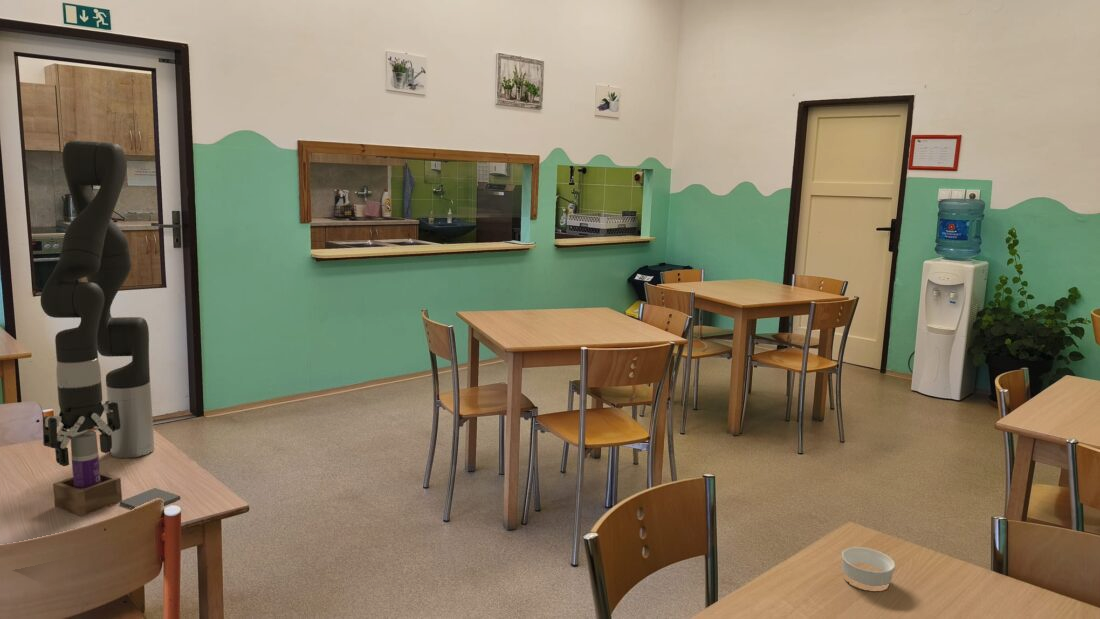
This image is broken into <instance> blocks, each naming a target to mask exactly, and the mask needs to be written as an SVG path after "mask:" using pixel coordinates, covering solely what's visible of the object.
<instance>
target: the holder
mask: <svg viewBox="0 0 1100 619" xmlns="http://www.w3.org/2000/svg"><path fill="white" fill-rule="evenodd" d="M100 481H101V483H99V484H96V485H93V486H90V487H88V488H85V489H82V490H80V489H77V488H74V481H73V476H71V477H69V478H66V479H63V480H60V481H59V480H58V481H57V482H56V481H55V482H53V483H52V486H53V487H52V489H53V500H54V501H53V502H54V507H55V508H57V509H59V510H60V509H61V510H62V511H64V512H65V511H66V512H68V513H71V514H73V515H77V516H79V517H83V516H85V515H89V514H91V513H93V511H94V512H97V511H99V510H101V509H105V508H106V506H107V507H109V506H112V505H114V503H115V504H117V503H120V501H122V500H123V497H122V496H123V495H122V493H123V492H122V480H121V477H119V476H116V475H113V474H110V473H105V472H102V471H100ZM111 504H112V505H111ZM90 512H91V513H90ZM88 513H89V514H88Z"/></svg>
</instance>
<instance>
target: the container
mask: <svg viewBox="0 0 1100 619" xmlns="http://www.w3.org/2000/svg"><path fill="white" fill-rule="evenodd" d="M98 447H99V446H98V438H97V431H94V430H84V431H82V432H79V433H78V432H76V434H75V436H74V437H73V438H71V439H70V449H71V450H70V451H71V452H70V453H71V466H72V467H71V469H72V477H73V481H74V488H77V489H80V490H82V489H85V488H88V487H90V486H93V485H96V484H99V483H101V481H100V472H101V470H100V458H99V448H98Z"/></svg>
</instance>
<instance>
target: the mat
mask: <svg viewBox="0 0 1100 619" xmlns="http://www.w3.org/2000/svg"><path fill="white" fill-rule="evenodd" d="M156 498H161V499H163V500H164V505H163V506H166V505H168V504H170V503H173V502H176V501H178V500H180V499H181V495H179V494H175V493H173V492H169V491H166V490H162V489H160V488H156V487H154V488H151V489H148V490H146V491H143V492H140V493H138V494H135V495H133V496H130V497H128V498H126V499H122V501H120V502H119V505H121V506H124V505H125V506H124V507H127V508H130V507H131V508H130V509H133V508H135V507H137V506H140V505H142V504H144V503H146V502H149V501H151V500H153V499H156Z"/></svg>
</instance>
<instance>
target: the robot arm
mask: <svg viewBox="0 0 1100 619" xmlns="http://www.w3.org/2000/svg"><path fill="white" fill-rule="evenodd" d="M127 163H128V162H127V157H126V154H125V151H124V149H123V148H122V146H120V144H118V143H113V142H106V141H105V142H104V141H90V140H87V141H86V140H85V141H83V140H70V141H68V142H66V143H65V144H64V146H63V149H62V165H63V166H62V168H63V171H64V175H65V181H66V183H67V187H68V191H69V195H70V199H71V201H72V206H73V209H74V214H75V217H74V218H73V220H72V221H71V222H70V223H69V225H68V227H67V229H66V231H65V232H64V235H63V239H62V246H61V250H60V255H59V259H58V262H57V264H56V265H55V266H54V267H55V268H54V269H53V271H52V273H51V275H50V276H49V277H48V279H47V281H46V283H45V284H44V287H43V289H42V291H41V294H40V307H41V309H42V310H43V313H44V314H45V315H47V316H48V317H51V318H54V319H63V318H64V319H68V318H69V319H70V318H73V319H75V318H76V319H77V318H78V319H79V318H80V323H79V325H78V326H77V327H73V328H68V329H64V330H61V331H58V332H57V333H56V334H55V338H54V339H55V340H54V342H55V344H54V345H55V353H56V370H55V372H56V374H55V375H56V376H55V377H56V386H57V398H58V399H57V401H58V406H59V409H60V411H59V414H58V415H54V416H47V415H45V416H44V417H43V418H42V430H43V431H42V435H43V436H42V437H43V438H42V439H43V440H42V441H43V442H42V444H43V446H44V447H46V448H47V447H48V448H50V449H51V448H52V449H54V451H55V460H56V463H57V464H59V465H60V466H62V467H68V466H69V465H70V459H69V448H68V447H67V446H68V444H69V443H70V442H71V438H73V437H74V436H75V434H76V432H78V433H79V432H82V431H87V430H92V429H94V428H95V429H96V430H97V431H98V432H99V433H100V434H99V445H100V446H99V447H100V448H99V449H100V452H101V453H104V454H108V453H110V454H111V456H112V457H114V458H119V459H130V458H138V457H143V456H146V455H148V454H150V452H151V453H152V452H154V450H155V441H154V440H155V439H154V438H155V437H154V436H155V435H154V422H153V421H154V420H153V404H152V391H151V377H150V376H151V375H150V369H151V368H150V333H149V332H150V330H149V324H148V322H147V320H146V319H145V318H144V317H140V316H129V317H126V316H125V317H122V316H121V317H120V316H119V317H113V316H112V314H111V308H112V307H111V306H112V304H113V302H114V300H115V297H116V295H117V294H118V292H119V290H120V289H121V288H122V286H123V285H124V283H125V282H126V280H127V278H128V277H129V274H130V272H131V268H132V260H131V254H130V253H131V252H130V247H129V242H128V239H127V236H126V235H125V234H124V232H123V231H122V229H121V228H120V227H119V226H118V225H117V224H116V222H115V221H114V220H112V216H113V213H114V212H115V209H116V206H117V203H118V201H119V200H118V199H119V197H120V194H121V192H122V189H123V186H124V183H125V179H126V174H127V167H128V166H127ZM92 186H93V187H94V186H95V187H99V189H98V191H97V193H96V194H95V193H94V191H93V188H92ZM82 278H86V281H78V280H79V279H82ZM99 354H100V356H103V357H111V358H112V357H114V358H115V357H131V358H132V359H131V361H130V362H129V363H127V364H126V365H124V366H123V365H122V366H121V367H118V368H115V369H113V370H110V371H109V372H107V374H106V375H105V385H106V386H105V387H106V399H107V400H106V401H105V402H104V403H103V389H102V388H103V387H102V386H103V385H102V375H101V374H102V373H101V365H100V362H99ZM103 413H105V414H106V415H105V416H106V422H105V420H103V419H102V418H101V417H102V415H103ZM60 422H61V424H62V425H61V427H60V428H59V429H58V427H59V426H60ZM142 455H143V456H142Z"/></svg>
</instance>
